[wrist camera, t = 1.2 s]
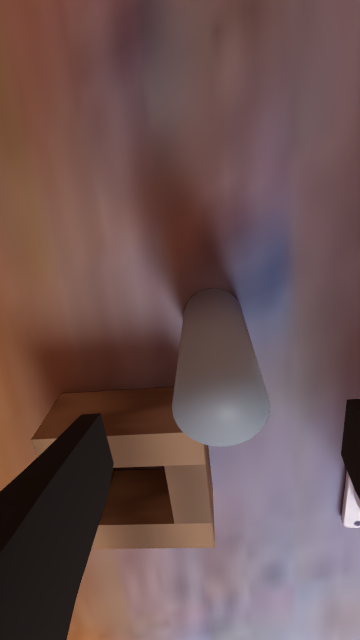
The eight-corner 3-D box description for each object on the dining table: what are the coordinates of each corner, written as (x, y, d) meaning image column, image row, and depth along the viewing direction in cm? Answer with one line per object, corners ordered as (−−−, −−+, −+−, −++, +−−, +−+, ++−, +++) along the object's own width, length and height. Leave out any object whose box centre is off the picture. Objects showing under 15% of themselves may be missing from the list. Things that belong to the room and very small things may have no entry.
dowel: (240, 285, 17) (269, 364, 10) (242, 339, 19) (270, 444, 11) (180, 291, 18) (166, 371, 10) (187, 343, 19) (178, 448, 12)
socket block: (201, 385, 20) (202, 431, 16) (212, 489, 23) (214, 547, 20) (60, 393, 21) (30, 439, 17) (91, 493, 24) (72, 549, 21)
